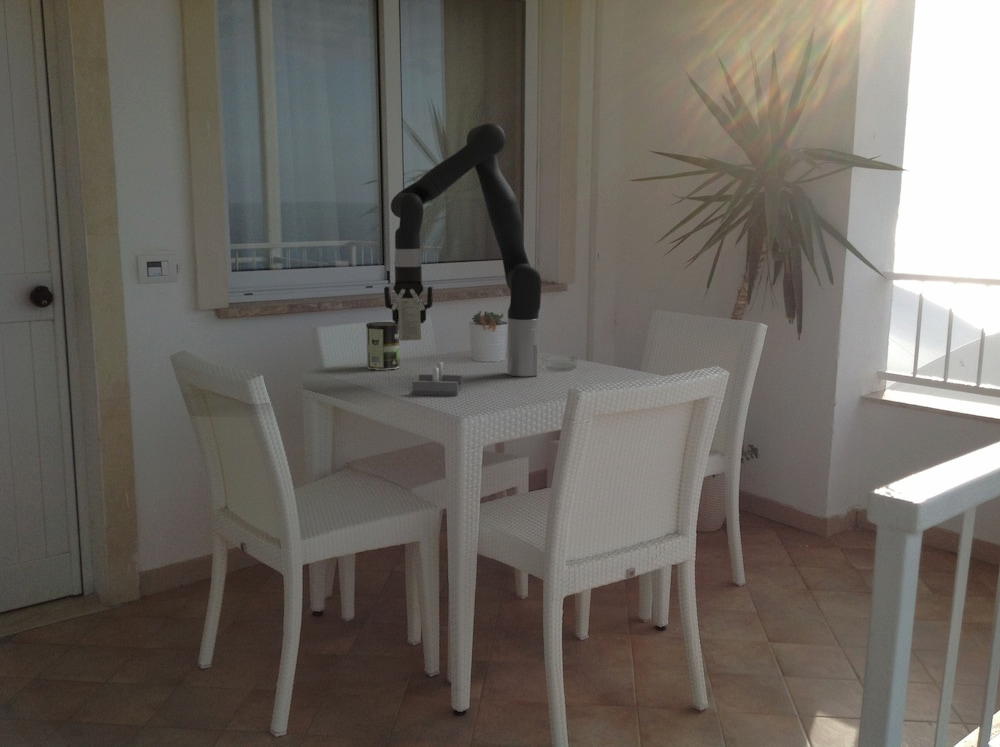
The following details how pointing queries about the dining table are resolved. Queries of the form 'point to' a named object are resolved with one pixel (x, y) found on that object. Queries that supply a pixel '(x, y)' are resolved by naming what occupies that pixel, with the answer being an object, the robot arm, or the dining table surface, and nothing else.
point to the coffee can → (382, 345)
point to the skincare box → (409, 319)
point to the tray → (437, 383)
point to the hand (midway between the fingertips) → (409, 322)
